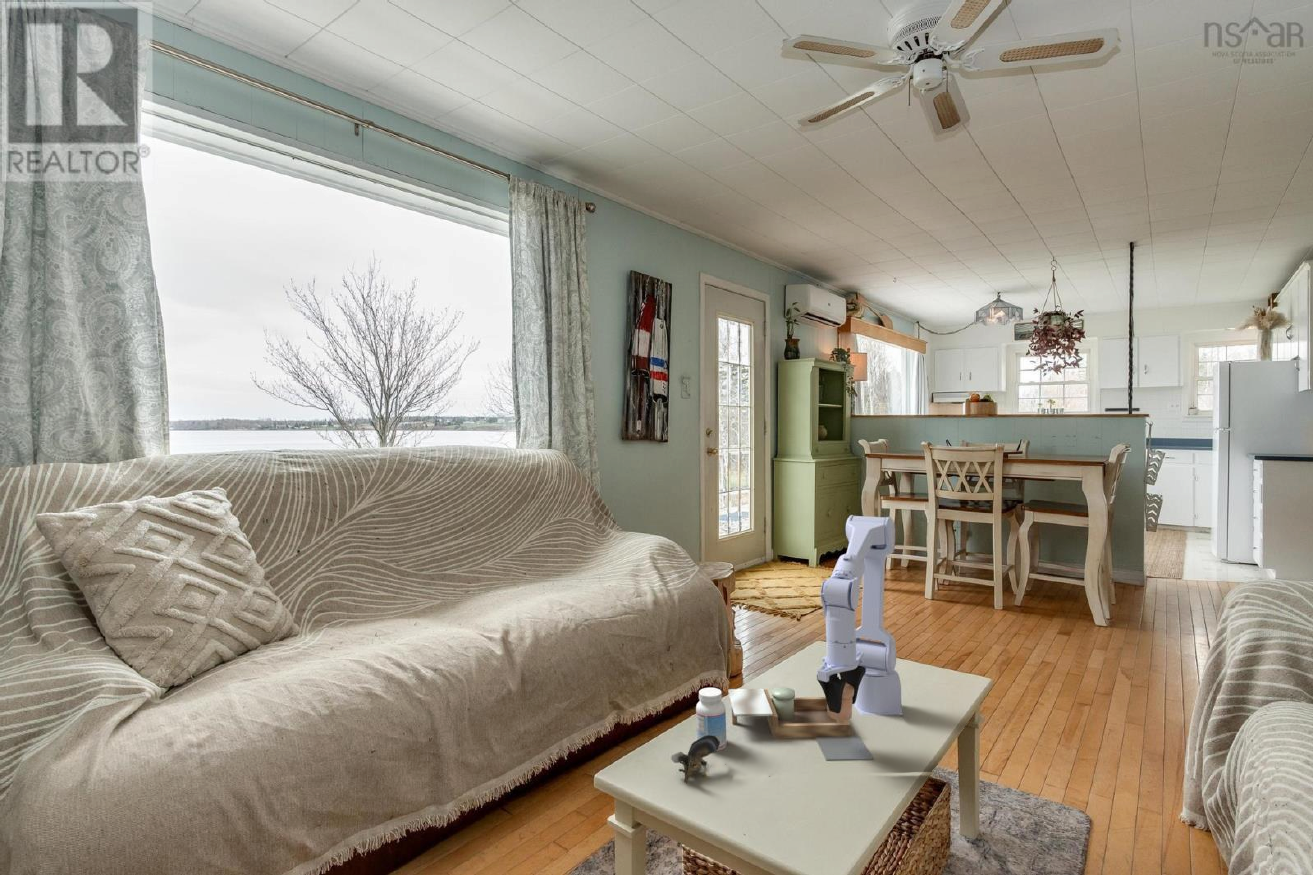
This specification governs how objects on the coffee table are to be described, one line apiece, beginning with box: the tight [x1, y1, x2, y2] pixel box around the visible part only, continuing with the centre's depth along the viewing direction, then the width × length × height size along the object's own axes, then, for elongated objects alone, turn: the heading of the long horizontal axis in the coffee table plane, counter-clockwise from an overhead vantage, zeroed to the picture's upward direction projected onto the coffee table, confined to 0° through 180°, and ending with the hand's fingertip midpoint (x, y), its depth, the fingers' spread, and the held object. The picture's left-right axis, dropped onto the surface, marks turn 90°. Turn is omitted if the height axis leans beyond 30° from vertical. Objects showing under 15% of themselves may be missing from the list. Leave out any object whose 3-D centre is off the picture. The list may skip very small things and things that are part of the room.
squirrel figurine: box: [670, 735, 720, 783], centre depth 122 cm, size 8×7×9 cm
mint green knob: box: [771, 686, 796, 720], centre depth 143 cm, size 5×5×6 cm
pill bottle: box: [695, 687, 727, 752], centre depth 132 cm, size 6×6×11 cm
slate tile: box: [814, 735, 874, 762], centre depth 128 cm, size 9×9×1 cm
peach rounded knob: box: [827, 683, 854, 721], centre depth 129 cm, size 5×5×6 cm
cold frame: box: [727, 688, 852, 739], centre depth 140 cm, size 24×14×5 cm, turn 89°
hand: (842, 707), depth 128 cm, fingers closed on peach rounded knob, 5 cm apart
